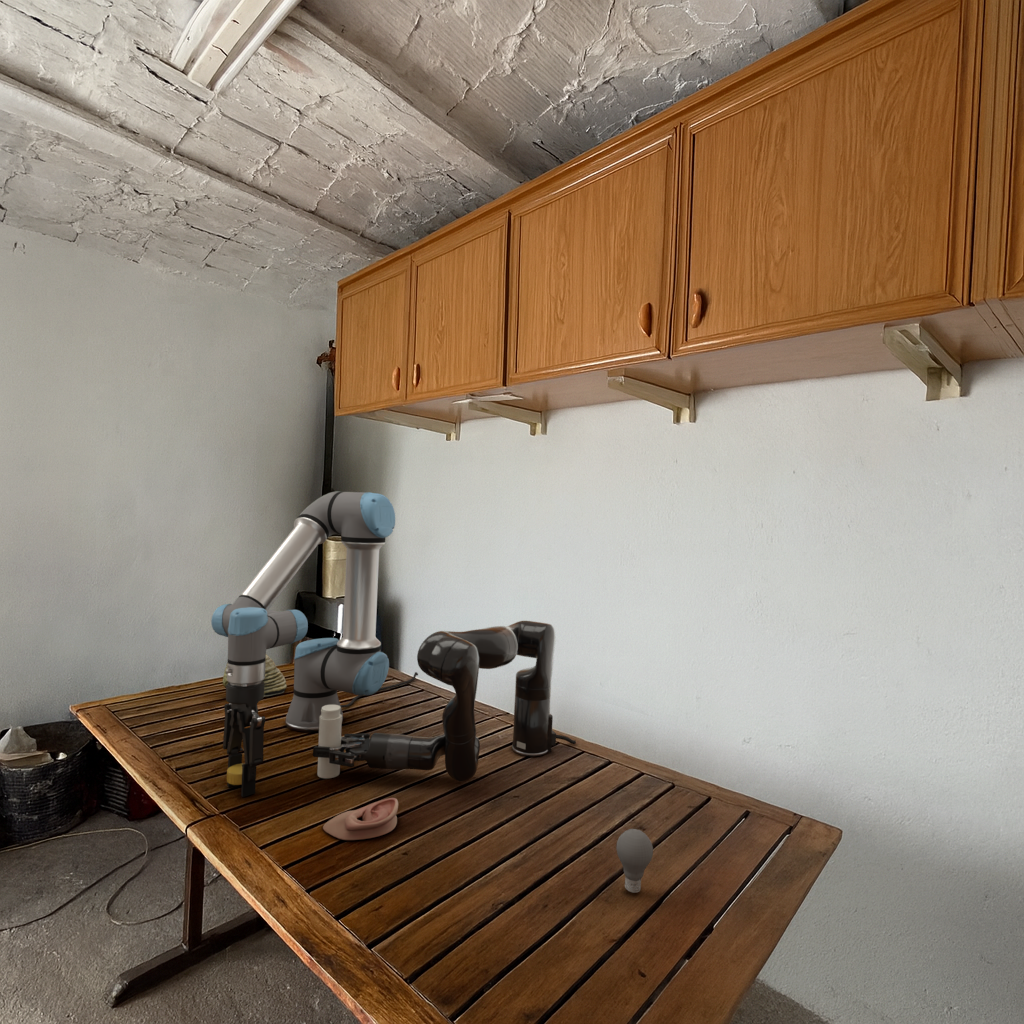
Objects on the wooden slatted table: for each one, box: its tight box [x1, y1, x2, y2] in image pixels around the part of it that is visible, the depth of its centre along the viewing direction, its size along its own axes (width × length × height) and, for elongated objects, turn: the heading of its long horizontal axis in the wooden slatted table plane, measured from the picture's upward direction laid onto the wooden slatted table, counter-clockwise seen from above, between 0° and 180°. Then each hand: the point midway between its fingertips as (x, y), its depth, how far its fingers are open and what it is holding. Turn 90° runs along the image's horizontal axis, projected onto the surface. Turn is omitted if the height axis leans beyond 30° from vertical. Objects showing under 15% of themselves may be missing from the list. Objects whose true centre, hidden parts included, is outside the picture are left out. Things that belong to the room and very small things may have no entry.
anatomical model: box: [322, 797, 399, 841], centre depth 122 cm, size 13×4×12 cm
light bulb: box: [615, 828, 654, 894], centre depth 106 cm, size 6×6×10 cm
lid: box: [225, 762, 245, 786], centre depth 135 cm, size 6×6×2 cm
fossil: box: [222, 653, 288, 698], centre depth 198 cm, size 9×18×15 cm, turn 132°
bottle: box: [316, 705, 343, 779], centre depth 145 cm, size 5×5×15 cm
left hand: (241, 789), depth 135 cm, fingers closed on lid, 6 cm apart
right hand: (318, 746), depth 145 cm, fingers closed on bottle, 5 cm apart
